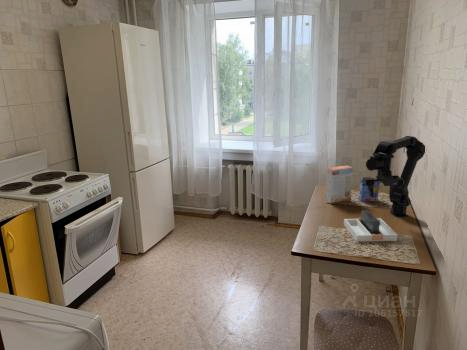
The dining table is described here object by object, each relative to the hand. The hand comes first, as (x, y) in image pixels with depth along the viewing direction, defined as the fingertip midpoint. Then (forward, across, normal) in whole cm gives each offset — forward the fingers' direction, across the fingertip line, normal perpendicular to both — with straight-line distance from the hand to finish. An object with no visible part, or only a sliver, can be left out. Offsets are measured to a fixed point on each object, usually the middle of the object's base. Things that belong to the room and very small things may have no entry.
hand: (381, 197), depth 171 cm
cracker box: (+13, -12, +30) cm, 35 cm away
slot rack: (+13, -10, -13) cm, 21 cm away
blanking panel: (+12, -10, -13) cm, 20 cm away
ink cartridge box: (+13, +6, +30) cm, 33 cm away
